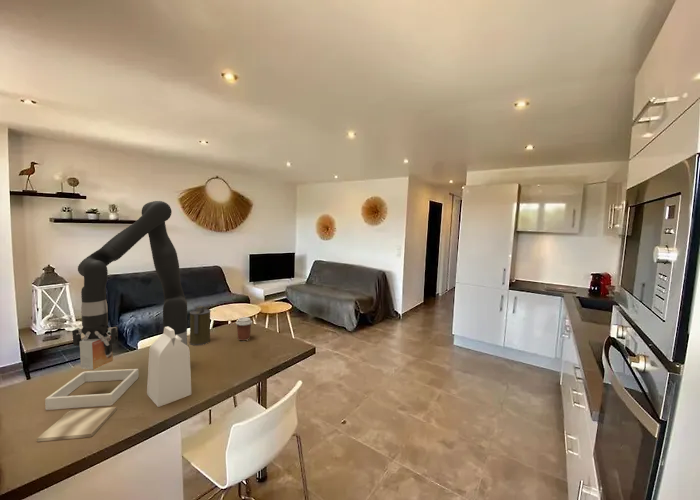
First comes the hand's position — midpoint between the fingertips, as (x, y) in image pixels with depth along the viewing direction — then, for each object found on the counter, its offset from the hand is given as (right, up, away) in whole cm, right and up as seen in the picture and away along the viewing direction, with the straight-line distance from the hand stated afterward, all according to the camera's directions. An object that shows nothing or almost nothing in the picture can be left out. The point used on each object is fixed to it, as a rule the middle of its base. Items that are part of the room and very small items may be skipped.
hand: (96, 354), depth 115 cm
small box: (0, -4, 0) cm, 4 cm away
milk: (+26, -16, +2) cm, 31 cm away
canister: (+12, -12, +54) cm, 57 cm away
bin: (-1, -15, +1) cm, 15 cm away
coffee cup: (+34, -12, +61) cm, 71 cm away
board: (+9, -17, -17) cm, 25 cm away
